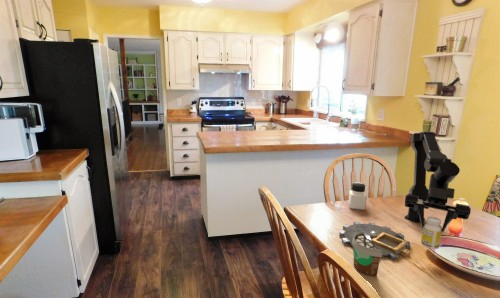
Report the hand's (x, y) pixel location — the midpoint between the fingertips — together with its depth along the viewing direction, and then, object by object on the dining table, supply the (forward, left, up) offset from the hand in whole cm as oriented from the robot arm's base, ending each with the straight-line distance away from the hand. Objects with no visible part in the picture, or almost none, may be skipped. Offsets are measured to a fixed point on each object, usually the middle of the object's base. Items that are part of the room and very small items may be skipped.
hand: (432, 229), depth 95 cm
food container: (+21, -13, -12) cm, 28 cm away
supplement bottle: (-1, 0, -7) cm, 7 cm away
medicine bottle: (-24, -40, -12) cm, 48 cm away
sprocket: (+1, -19, -12) cm, 22 cm away
